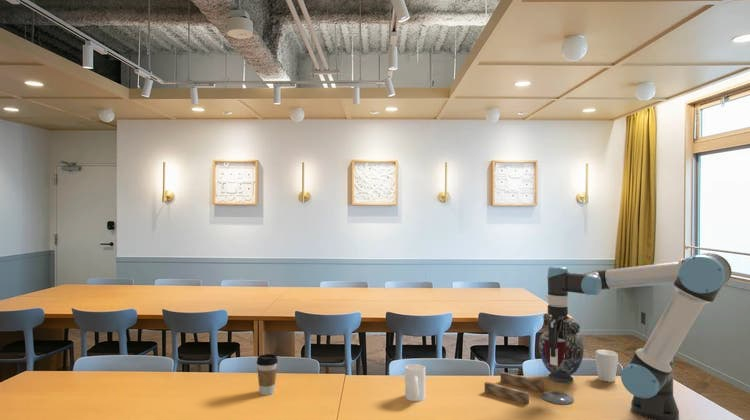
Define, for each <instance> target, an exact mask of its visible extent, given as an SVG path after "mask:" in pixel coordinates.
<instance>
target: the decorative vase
mask: <svg viewBox="0 0 750 420" xmlns="http://www.w3.org/2000/svg"><path fill="white" fill-rule="evenodd" d="M542 316H543V318H542V319H543V322H544V324H545V329H544V331H543V332H542V333H541V334H540V335H539V339H538V351H539V355H540V356H539V357H540V359H541V360H542V363H543V366H545V369H546V370H547V371H548V372H550V373H549V374H548V375H547V377H548V380H550V381H551V382H552V381H553V382H555V383H560V384H570V383H573V382H574V381H575V379H574V377H573V374H575V373H576V372H577V371H578V370H579V369H580V366H581V364H582V362H583V358H584V343H583V339H582V338H581V336H580V335H579V334H578V333H580V330H581V327H580V324H579V323H577V322H576V321H573V320H572V319H570V317H569V316H568V315H567V316H565V317H566V337H567V340H566V341H567V344H566V347H569V348H570V349H571V350H572V357H571V358H570V359H568V360H563V361H562V363H561V364H560V366H552V365H550V364H549V363H548V360H547V358H546V353H545V347H544V338H546V337H549V322H551V320H552V316H551V315H549V314H548V312H547V313H544V314H543V315H542ZM569 355H570V352H569V350H567V349H566V350H565V358H567V357H569Z"/></svg>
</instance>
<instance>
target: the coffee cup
mask: <svg viewBox="0 0 750 420" xmlns="http://www.w3.org/2000/svg"><path fill="white" fill-rule="evenodd" d="M277 364H278V357H277V355H276V354H274V353H267V354H266V353H265V354H261V355H259V356H257V360H256V365H257V380H258V389H259V390H258V391H259V394H260V395H261V396H270V395H273V394H275V388H276V387H275V386H276V379H277V378H276V377H277Z"/></svg>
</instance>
